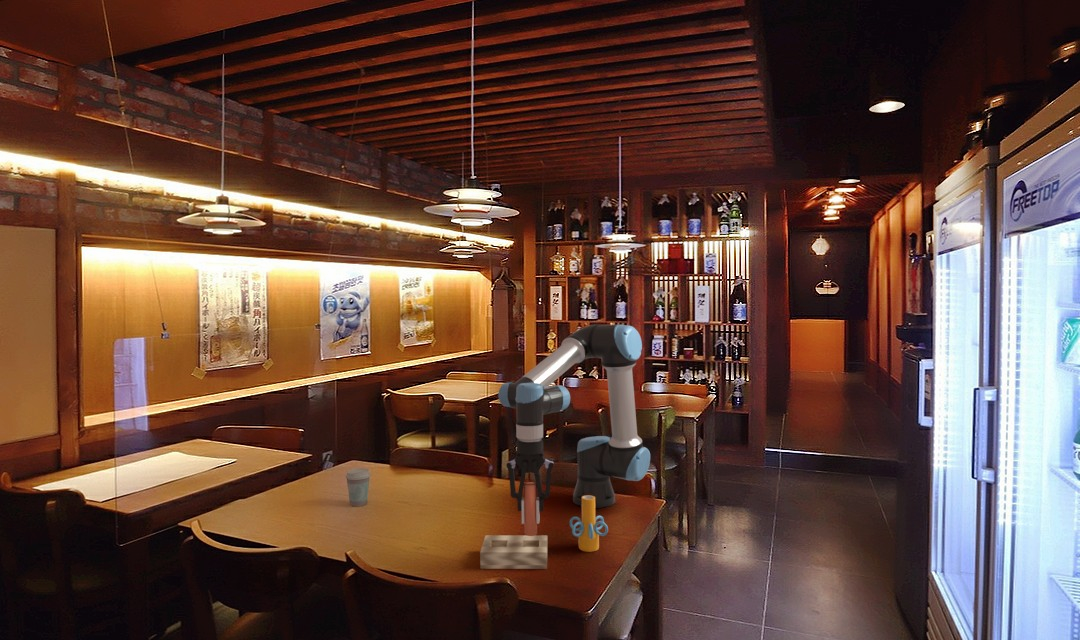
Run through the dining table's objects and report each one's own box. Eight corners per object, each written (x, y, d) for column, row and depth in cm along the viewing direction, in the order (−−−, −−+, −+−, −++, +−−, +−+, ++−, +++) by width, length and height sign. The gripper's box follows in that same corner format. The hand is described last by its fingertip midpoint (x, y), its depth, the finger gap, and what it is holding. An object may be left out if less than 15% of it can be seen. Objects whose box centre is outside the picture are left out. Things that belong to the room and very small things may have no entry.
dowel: (537, 531, 172) (536, 482, 172) (536, 536, 169) (536, 485, 168) (524, 531, 172) (524, 482, 172) (524, 536, 169) (523, 486, 168)
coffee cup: (341, 506, 217) (340, 473, 217) (356, 499, 225) (356, 467, 225) (360, 509, 214) (360, 475, 214) (375, 501, 222) (375, 469, 222)
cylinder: (568, 540, 184) (567, 491, 183) (602, 539, 185) (601, 490, 184) (573, 557, 172) (573, 505, 171) (610, 556, 173) (609, 503, 172)
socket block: (547, 550, 177) (547, 535, 176) (546, 568, 165) (546, 552, 164) (485, 550, 177) (485, 535, 177) (480, 568, 165) (480, 552, 165)
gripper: (559, 435, 173) (560, 517, 174) (501, 436, 174) (502, 517, 174) (559, 441, 166) (560, 527, 166) (499, 442, 166) (500, 526, 167)
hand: (530, 521), depth 170 cm, fingers closed on dowel, 3 cm apart
